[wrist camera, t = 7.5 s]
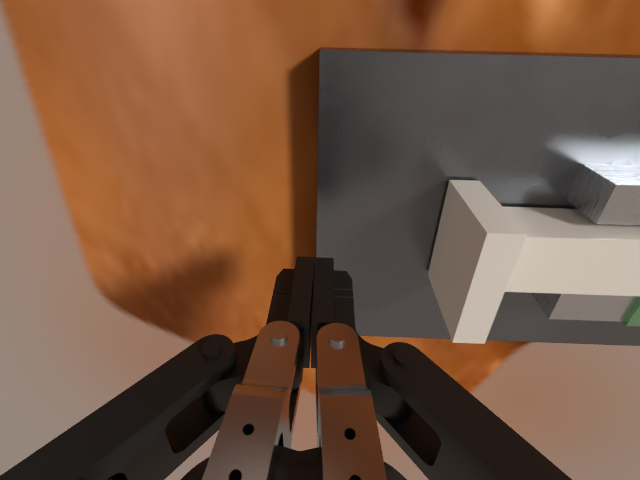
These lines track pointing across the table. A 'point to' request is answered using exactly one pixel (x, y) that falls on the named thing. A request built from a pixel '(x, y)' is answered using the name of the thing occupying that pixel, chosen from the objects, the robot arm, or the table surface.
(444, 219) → the plunger
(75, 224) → the table surface
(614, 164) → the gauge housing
